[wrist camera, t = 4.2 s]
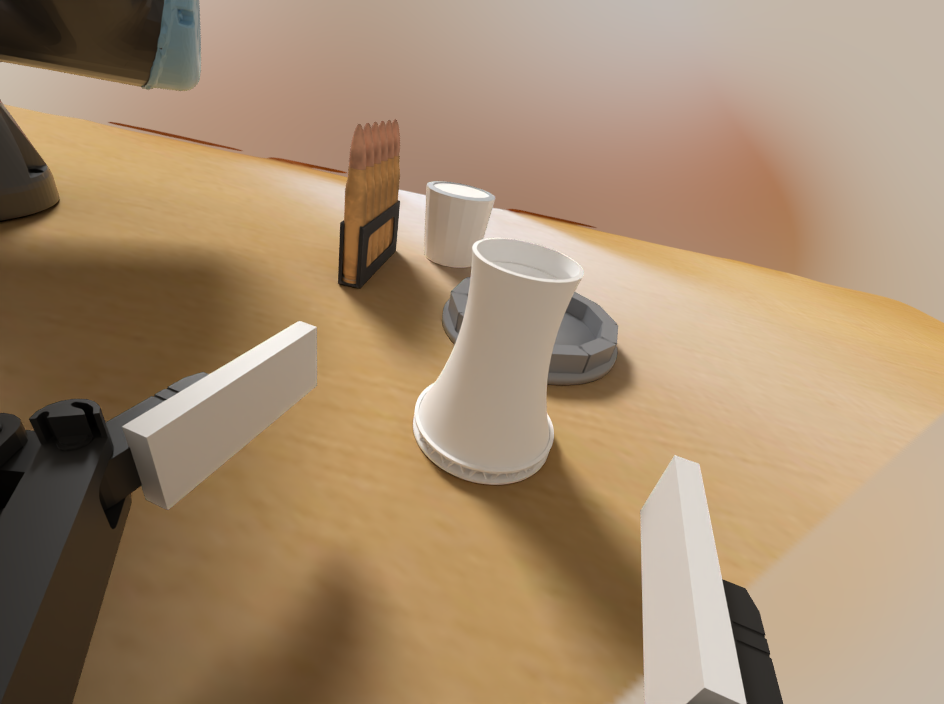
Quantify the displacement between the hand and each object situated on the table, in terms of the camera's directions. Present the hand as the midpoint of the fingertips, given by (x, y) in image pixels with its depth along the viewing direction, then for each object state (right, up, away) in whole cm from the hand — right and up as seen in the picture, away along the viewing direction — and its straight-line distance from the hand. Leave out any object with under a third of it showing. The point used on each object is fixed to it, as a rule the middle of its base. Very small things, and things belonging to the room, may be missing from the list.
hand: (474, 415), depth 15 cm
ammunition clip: (-10, +10, +24) cm, 28 cm away
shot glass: (-2, +12, +30) cm, 33 cm away
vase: (0, -2, +8) cm, 9 cm away
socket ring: (+4, +4, +19) cm, 20 cm away
